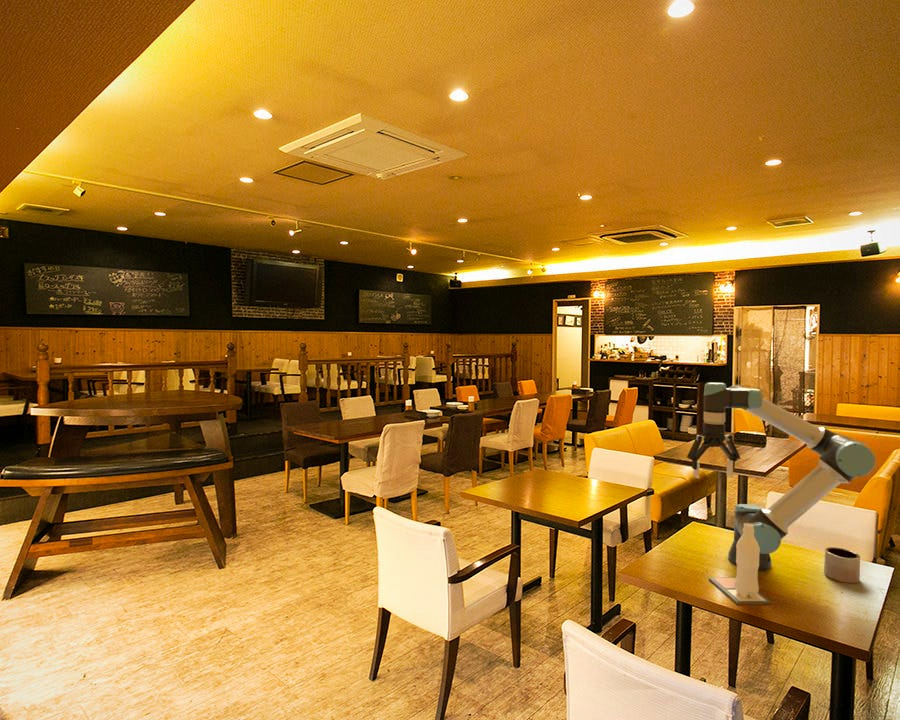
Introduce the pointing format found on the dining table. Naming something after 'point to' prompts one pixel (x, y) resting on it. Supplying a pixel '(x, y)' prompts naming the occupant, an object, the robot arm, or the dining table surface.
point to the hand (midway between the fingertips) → (713, 477)
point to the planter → (842, 565)
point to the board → (729, 589)
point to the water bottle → (747, 563)
